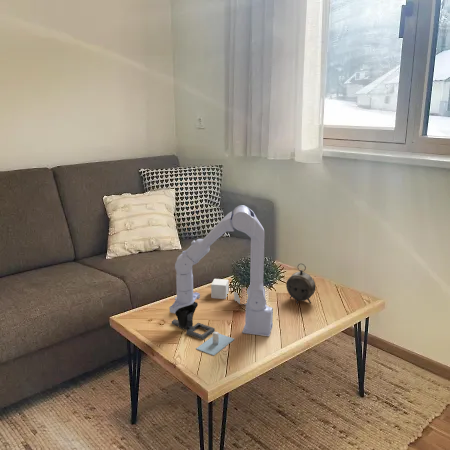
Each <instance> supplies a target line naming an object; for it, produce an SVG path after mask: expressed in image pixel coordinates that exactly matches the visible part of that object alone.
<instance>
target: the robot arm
mask: <svg viewBox="0 0 450 450" xmlns="http://www.w3.org/2000/svg"><path fill="white" fill-rule="evenodd" d="M236 230H237V231H239V232H241V233H244V234H246V235H247V236H248V237H249V238H250V268H249V269H250V285H249V287H248V289H247V294H248V299H247V303H246V304H245V317H244V321H245V324H244V325H243V329H242V332H241V333H242V334H247V335H254V336H255V335H256V336H262V337H270V336H271V333H272V329H273V326H274V325H273V321H274V320H273V319H274V317H273V316H274V314H273V313H274V308H273V307H271V306H269V305H267V300H266V289H265V287H264V268H265V263H264V262H265V229H264V227H263V225H262V223H261V222H260V221H259V219H258V217H257V215H256V214H255V212H254V211H253V210H252V209H251V208H249V206H246V205H242V204H241V205H238V206H236V207H234V209H233V210H232V211H230V212H228V213H227V214H226V215H225V216H224V217H223V218H222V219H221V220H220V221H219V222H218V223H217V224H216V225H215V226H214V227H213V228H212V229H211V230H210V231H209V232H208V233H207V234H206V236H204V237H203V238H197V239H196V240H195V239H193V240H192V241H191V243H190V244H191V245H190V246H189V247H188V248H186V249H185V250H182V252H181V254H179V255H178V256H177V258H176V261H175V264H174V269H175V272H176V276H175V277H176V279H175V281H176V282H175V283H176V284H175V285H176V296H175V298H174V302H173V303H172V305H171V306H168V309H169V313H170V314H174V315H175V316H176V318H177V320H178V321H179V325H180V326H182V327H185V325H186V316H187V313H188V311H191V312H193V316H194V314H195V311H196V309H197V308H198V305H199V304H198V302H197V301H196V300H199V299H201V294H200V292H197V291H195V292H194V275H193V266H194V265H197V264H198V263H199V262H200V261H201V260H202V259H203V258H204V257H205V256H206V255H207V254H208V253H209V252H210V248H211V247H210V246H212V245H213V244H214V243H215V242H216V241H218V240H219V239H220V237H221V236H223V235H224V234H225V233H227V232H235V231H236Z"/></svg>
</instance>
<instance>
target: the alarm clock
mask: <svg viewBox="0 0 450 450" xmlns="http://www.w3.org/2000/svg"><path fill="white" fill-rule="evenodd" d="M300 265H301V266H302V265H303V266H304V270H303V269H301V270H300V269H299V266H300ZM296 268H297V270H298V271H297V272H294V273H293V274H292V275H291V276H289V278H288V279H287V281H286V291H287V293H288V294H289V298H290V299H291V298H292V299H294V300H295V301H296V304H298V303H299V302H304V301H305V302H306V301H308V302H309V304H312V302H311V299H310V298H311V297H312V296H313V295H314V294H315V292H316V283H315V279H313V277H312V276H311V275H310V274H308V273H307V272H305V271H306V268H307V267H306V265H305V264H304V263H298V265H297V267H296Z"/></svg>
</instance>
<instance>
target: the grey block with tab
mask: <svg viewBox="0 0 450 450" xmlns="http://www.w3.org/2000/svg"><path fill="white" fill-rule="evenodd" d="M193 317H194V315H193V312H191V311H188V313H187V316H186V325H185V327H182V326H180V325H179V321H178V319H175V318H174V319H173V320H171V325H173V326H176V327H178V328H179V329H181V330H183V331H184V330H185V334H186V335H187V336H191V337H193V338H196V339H199V340H202V341H203V340H205V339H206V338H208V337H209V336H210V335H213V332H216V330H215V329H216V328H215V327H212V326H209V325H206V324H203V323H201V322H198V323H196V324H194V323H193V322H194V319H193ZM198 329H201V330H205V332H203V333H199V332H196V330H198Z"/></svg>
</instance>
